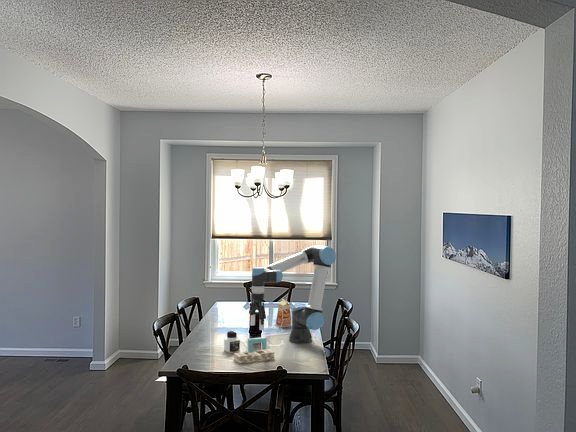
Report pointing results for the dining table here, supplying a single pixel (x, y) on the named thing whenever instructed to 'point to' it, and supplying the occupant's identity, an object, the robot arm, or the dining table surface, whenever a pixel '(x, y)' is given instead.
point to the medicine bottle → (231, 342)
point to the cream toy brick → (254, 356)
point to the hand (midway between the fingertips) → (257, 327)
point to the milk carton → (283, 314)
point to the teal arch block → (256, 340)
